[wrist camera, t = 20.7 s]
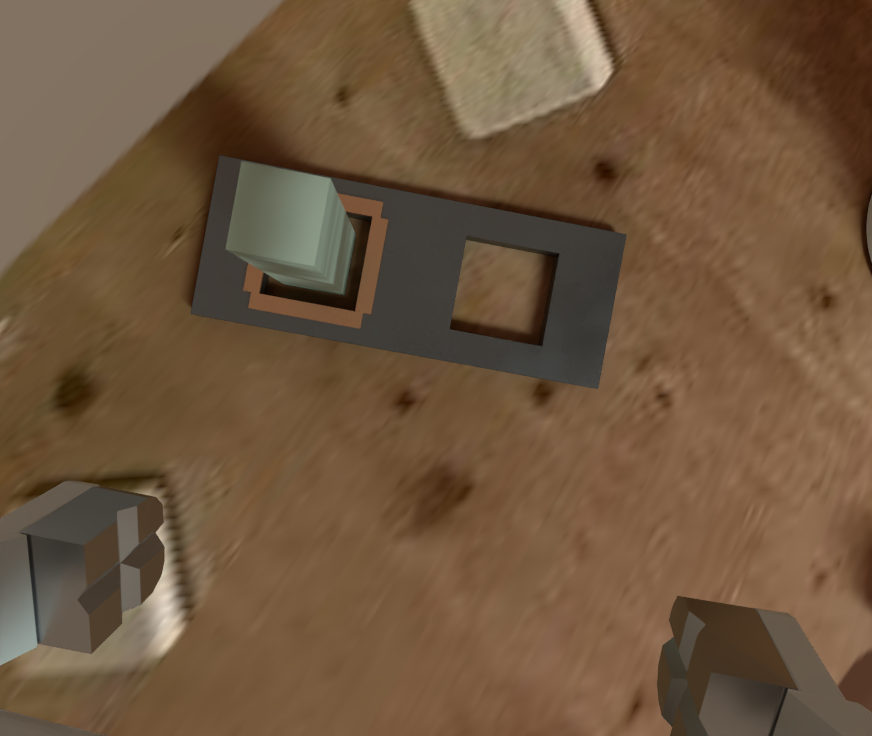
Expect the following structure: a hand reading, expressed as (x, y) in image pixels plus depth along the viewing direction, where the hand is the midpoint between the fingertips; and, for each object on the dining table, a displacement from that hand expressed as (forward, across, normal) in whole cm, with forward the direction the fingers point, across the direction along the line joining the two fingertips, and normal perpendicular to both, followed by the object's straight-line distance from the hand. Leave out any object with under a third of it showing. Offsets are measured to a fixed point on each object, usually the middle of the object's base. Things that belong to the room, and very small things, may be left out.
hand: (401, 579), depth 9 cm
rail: (+31, +6, 0) cm, 31 cm away
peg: (+30, +12, -1) cm, 32 cm away
